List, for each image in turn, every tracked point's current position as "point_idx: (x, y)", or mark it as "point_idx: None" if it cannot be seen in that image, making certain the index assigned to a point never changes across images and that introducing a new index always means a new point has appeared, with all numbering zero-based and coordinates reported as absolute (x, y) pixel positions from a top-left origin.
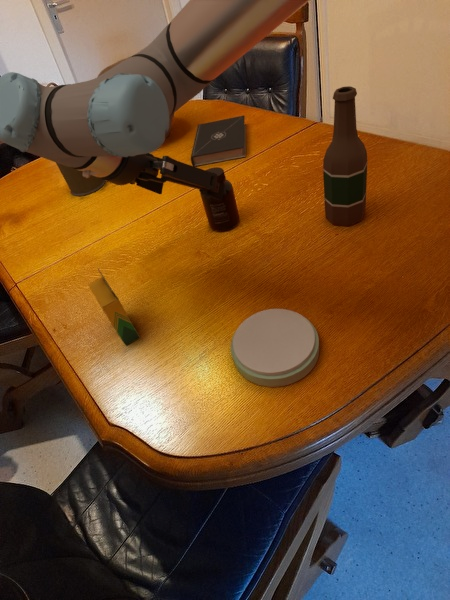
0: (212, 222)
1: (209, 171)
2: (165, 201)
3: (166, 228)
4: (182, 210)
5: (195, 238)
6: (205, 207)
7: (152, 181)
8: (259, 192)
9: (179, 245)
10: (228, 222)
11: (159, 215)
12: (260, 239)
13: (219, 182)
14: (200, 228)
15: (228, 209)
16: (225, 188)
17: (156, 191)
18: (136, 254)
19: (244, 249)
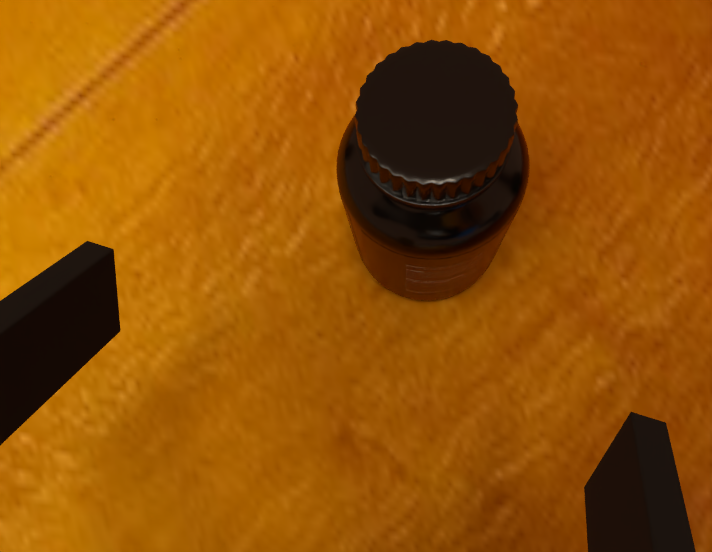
0: (391, 284)
1: (412, 89)
2: (106, 46)
3: (154, 246)
4: (202, 120)
5: (309, 333)
6: (367, 249)
7: (25, 360)
8: (539, 22)
9: (244, 377)
10: (468, 282)
11: (100, 147)
12: (620, 368)
13: (682, 496)
14: (317, 261)
15: (489, 256)
16: (508, 193)
17: (81, 365)
18: (52, 425)
19: (560, 435)
